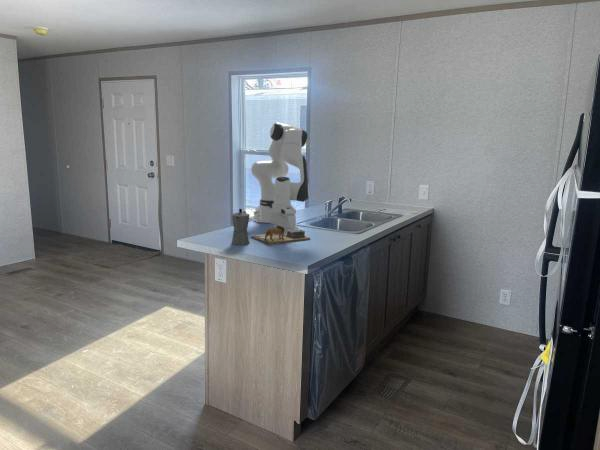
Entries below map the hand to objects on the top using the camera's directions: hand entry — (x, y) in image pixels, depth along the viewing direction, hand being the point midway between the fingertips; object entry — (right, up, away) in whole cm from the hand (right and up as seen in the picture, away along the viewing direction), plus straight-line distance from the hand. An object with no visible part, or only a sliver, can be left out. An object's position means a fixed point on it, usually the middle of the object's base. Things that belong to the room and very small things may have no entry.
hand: (281, 234), depth 232 cm
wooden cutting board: (-1, -2, +9) cm, 9 cm away
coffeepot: (-21, -4, -3) cm, 22 cm away
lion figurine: (-3, -3, 0) cm, 4 cm away
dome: (+6, 0, +12) cm, 14 cm away
